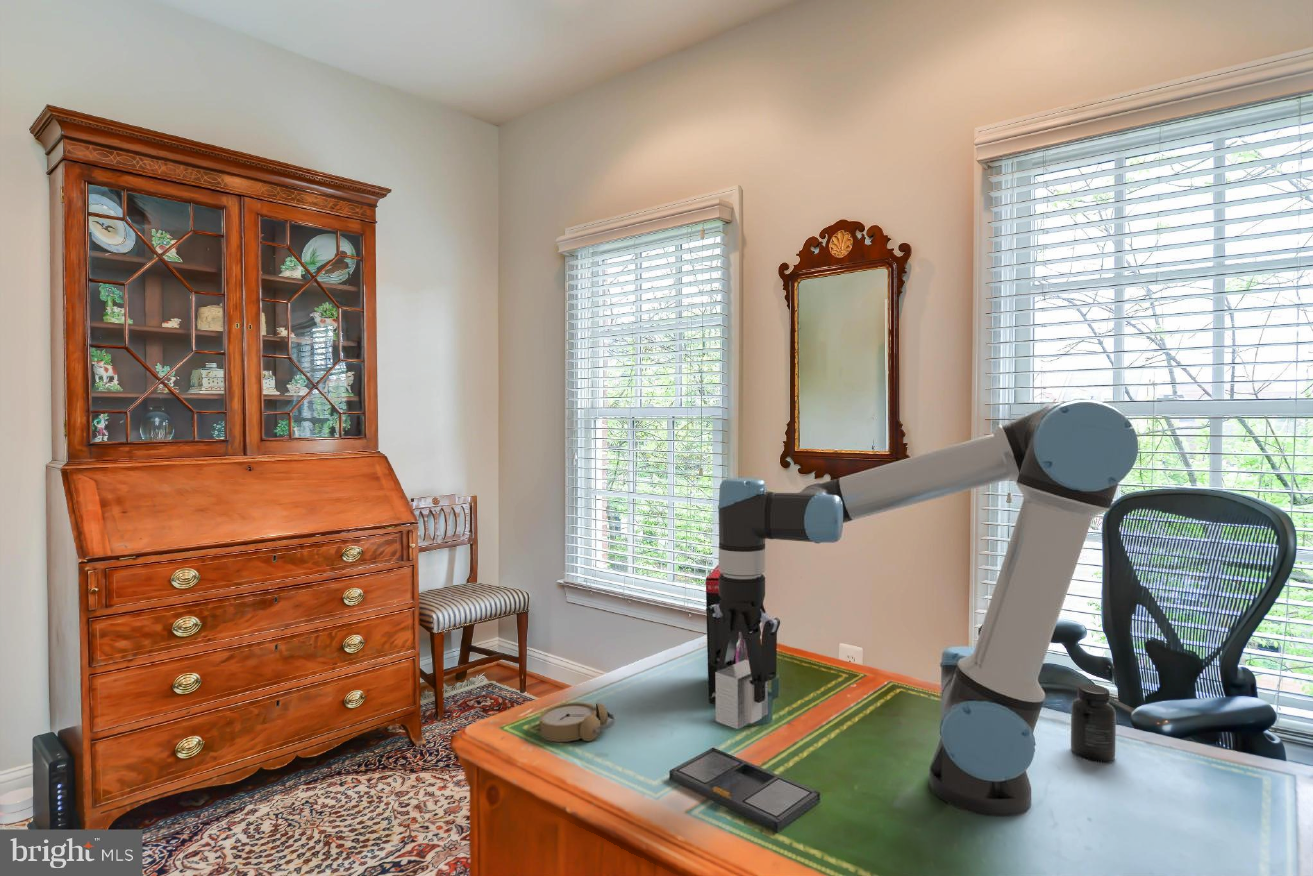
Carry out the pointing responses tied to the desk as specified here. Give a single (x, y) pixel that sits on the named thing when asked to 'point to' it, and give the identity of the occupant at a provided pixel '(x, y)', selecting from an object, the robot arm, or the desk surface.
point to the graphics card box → (711, 599)
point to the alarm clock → (574, 722)
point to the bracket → (769, 704)
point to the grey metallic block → (735, 695)
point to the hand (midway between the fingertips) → (741, 715)
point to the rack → (745, 788)
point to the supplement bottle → (1093, 724)
